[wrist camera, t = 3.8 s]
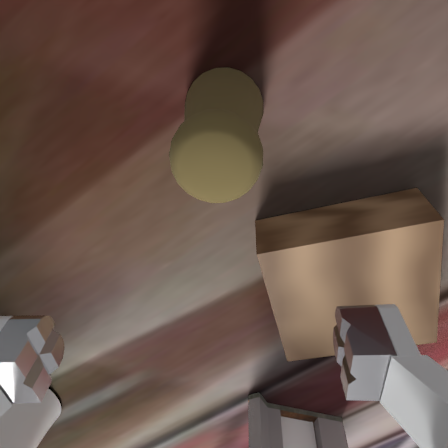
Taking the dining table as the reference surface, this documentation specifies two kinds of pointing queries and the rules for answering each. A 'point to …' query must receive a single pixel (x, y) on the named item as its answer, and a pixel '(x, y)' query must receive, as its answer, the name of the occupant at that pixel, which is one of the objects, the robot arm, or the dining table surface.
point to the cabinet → (292, 427)
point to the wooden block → (351, 267)
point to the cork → (219, 137)
